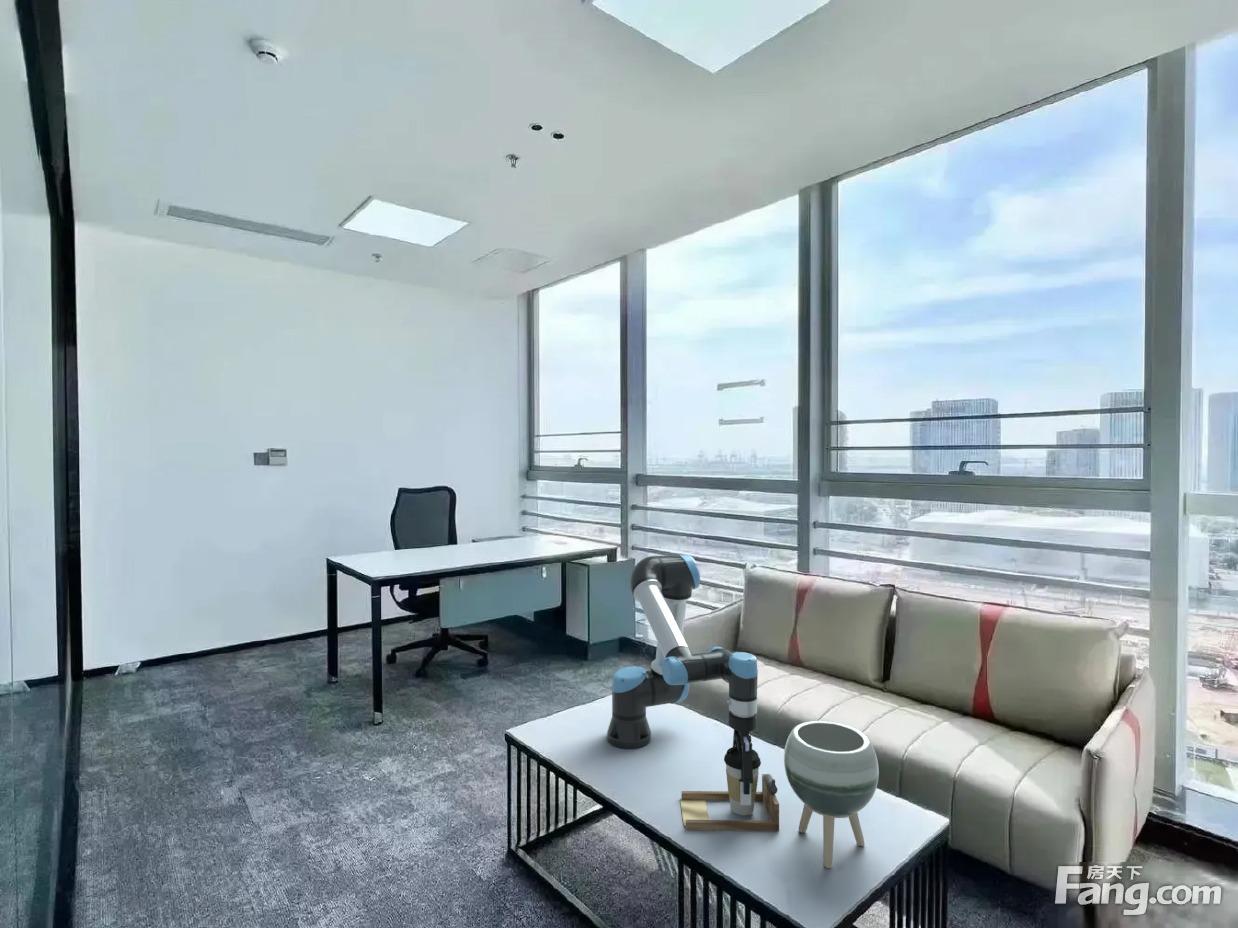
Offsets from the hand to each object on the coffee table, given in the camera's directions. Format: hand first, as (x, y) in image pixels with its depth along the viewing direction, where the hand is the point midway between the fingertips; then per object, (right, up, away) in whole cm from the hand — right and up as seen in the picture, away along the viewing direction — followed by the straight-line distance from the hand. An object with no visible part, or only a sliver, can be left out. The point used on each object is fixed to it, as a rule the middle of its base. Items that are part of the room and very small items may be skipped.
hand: (742, 792), depth 167 cm
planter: (+19, -6, -15) cm, 25 cm away
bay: (-4, -5, 0) cm, 7 cm away
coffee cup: (0, -4, 0) cm, 4 cm away
